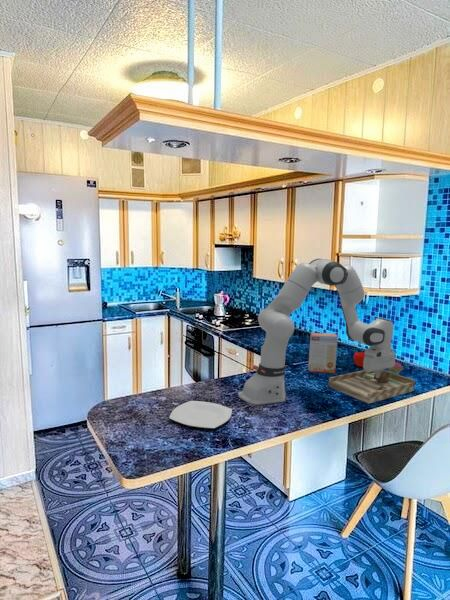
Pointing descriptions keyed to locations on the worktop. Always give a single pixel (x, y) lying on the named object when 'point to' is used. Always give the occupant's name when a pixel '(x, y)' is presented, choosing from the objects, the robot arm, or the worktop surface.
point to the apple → (359, 358)
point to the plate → (201, 414)
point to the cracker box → (322, 352)
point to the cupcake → (396, 368)
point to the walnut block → (383, 377)
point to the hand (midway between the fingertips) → (378, 377)
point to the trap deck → (371, 386)
